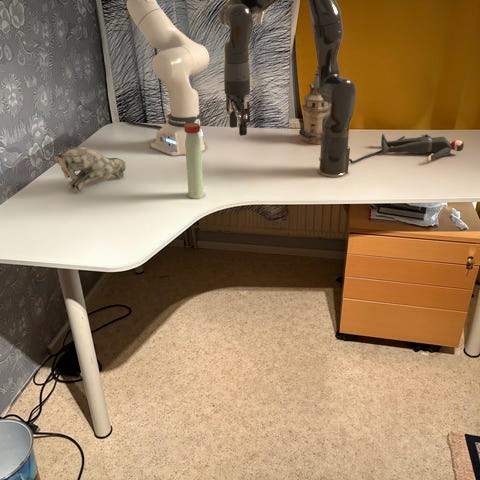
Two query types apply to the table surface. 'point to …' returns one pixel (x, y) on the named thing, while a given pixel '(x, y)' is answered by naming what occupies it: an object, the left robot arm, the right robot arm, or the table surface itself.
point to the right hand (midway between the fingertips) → (238, 131)
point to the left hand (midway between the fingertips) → (250, 25)
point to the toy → (421, 145)
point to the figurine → (88, 166)
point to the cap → (192, 128)
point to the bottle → (194, 165)
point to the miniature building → (314, 113)
